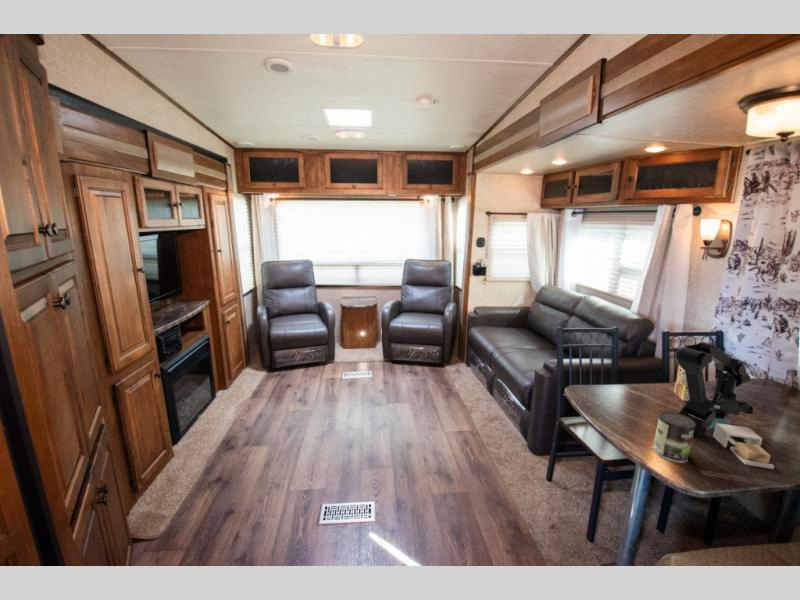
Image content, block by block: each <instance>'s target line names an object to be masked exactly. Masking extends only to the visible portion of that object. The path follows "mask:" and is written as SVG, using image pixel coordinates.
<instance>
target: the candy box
mask: <svg viewBox="0 0 800 600" xmlns="http://www.w3.org/2000/svg"><path fill="white" fill-rule="evenodd" d="M675 379H676V380H675V384H674V389H673V392H674V393H675V395H676V396H677V397H678V398H679V399H681V400H682V401H683V402H687V401H688V400H689V399H690V398H689V392H688V386H687V379H686V373H685V370H684V369H683V368H682V367H681V366H680V365H679V364H678V367H677V372H676V378H675Z"/></svg>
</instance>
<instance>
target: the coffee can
mask: <svg viewBox="0 0 800 600" xmlns="http://www.w3.org/2000/svg"><path fill="white" fill-rule="evenodd" d="M695 425H696V424H695V422H694V421H693V420H692V419H690V418H688V417H686V416H684V415H681V414H679V412H674V411H665V410H664V411H660V412H659V413H658V420H657V425H656V430H655V434H654V440H653V441H654V442H653V446H652V450H653V452H654V453H655V454H657V455H658V456H659V457H660V458H662V459H665V460H667V461H670V462H672V463H679V464H681V463H682V464H683V463H684V464H685V463H686V462H687V463H688V460H689V454H690V449H691V446H692V441H693V438H694V437H693V433H694V428H695Z"/></svg>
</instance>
